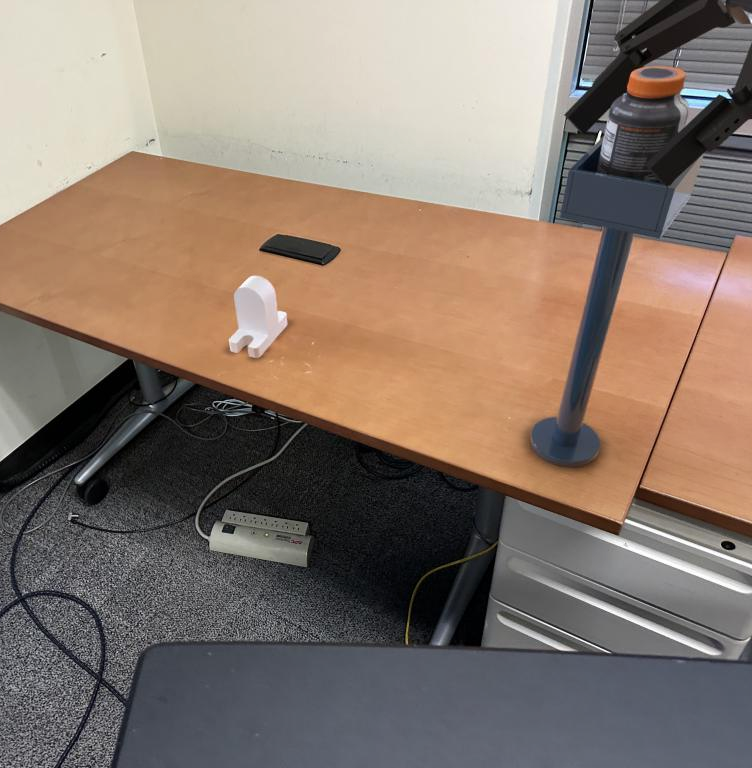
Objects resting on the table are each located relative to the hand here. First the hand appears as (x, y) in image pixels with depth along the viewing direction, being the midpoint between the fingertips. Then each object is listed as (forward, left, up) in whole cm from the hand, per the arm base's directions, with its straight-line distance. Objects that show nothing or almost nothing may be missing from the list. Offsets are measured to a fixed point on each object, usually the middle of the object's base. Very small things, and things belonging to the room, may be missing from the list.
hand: (611, 148), depth 59 cm
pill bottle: (-2, -2, -6) cm, 6 cm away
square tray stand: (-2, -2, -37) cm, 37 cm away
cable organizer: (+44, +1, -37) cm, 58 cm away
